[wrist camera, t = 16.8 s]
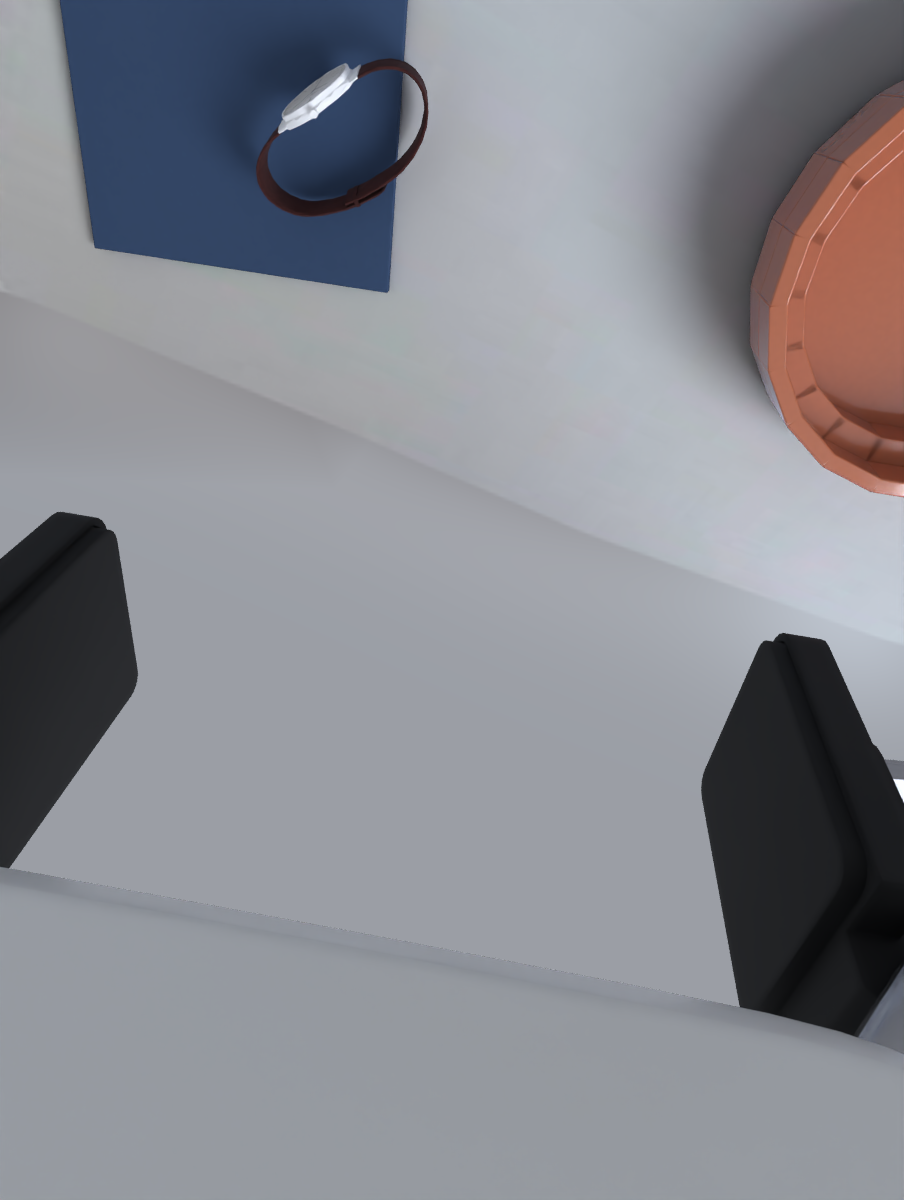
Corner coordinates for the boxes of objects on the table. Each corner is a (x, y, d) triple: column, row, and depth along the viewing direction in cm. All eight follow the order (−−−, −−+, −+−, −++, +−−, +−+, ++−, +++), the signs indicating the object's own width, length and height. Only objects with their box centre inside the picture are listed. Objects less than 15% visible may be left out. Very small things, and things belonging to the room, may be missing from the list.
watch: (400, 20, 30) (382, 15, 27) (458, 145, 32) (447, 152, 29) (247, 132, 33) (214, 137, 30) (309, 239, 35) (285, 255, 32)
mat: (389, 291, 36) (387, 293, 35) (98, 246, 36) (94, 247, 36) (425, -274, 26) (423, -279, 25) (19, -324, 26) (12, -330, 26)
